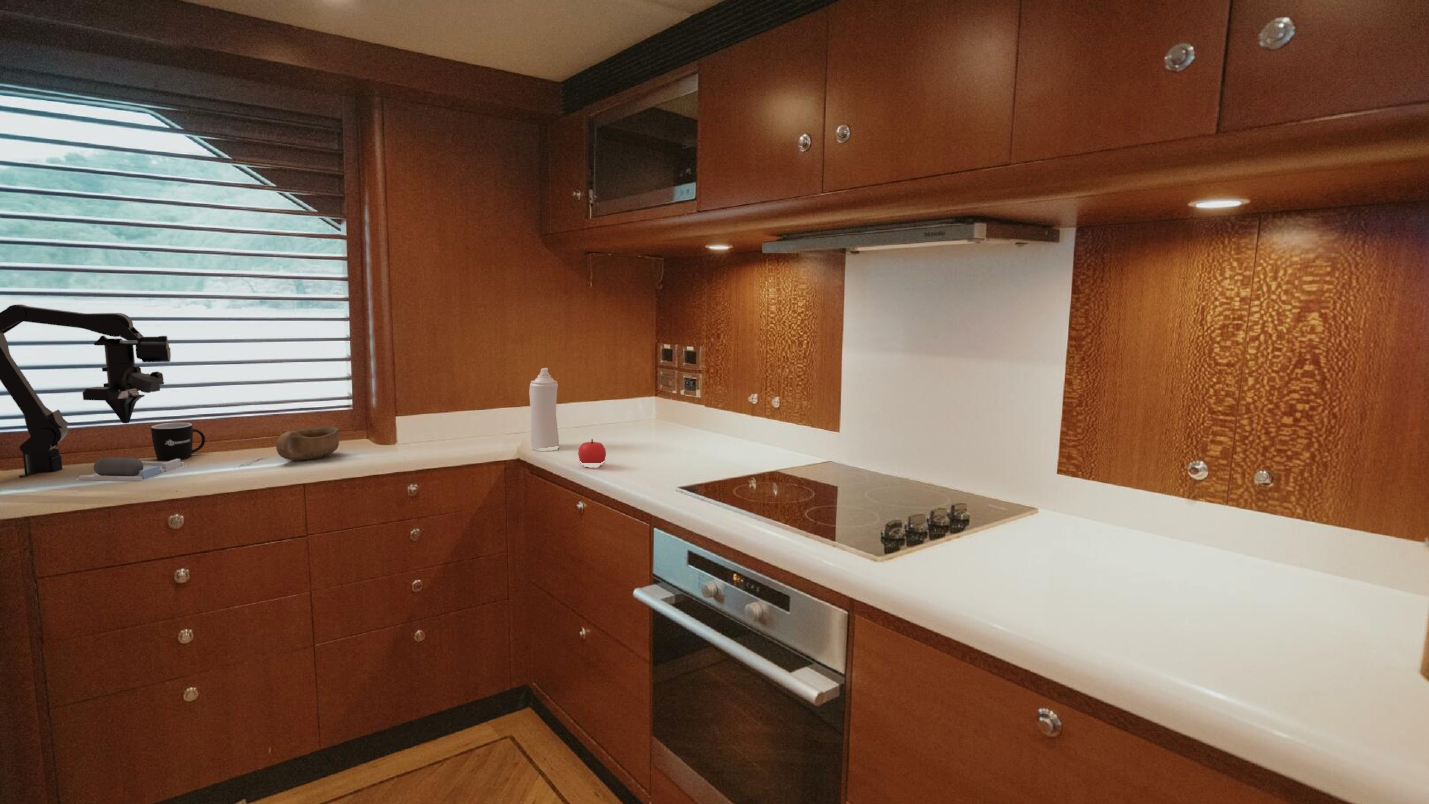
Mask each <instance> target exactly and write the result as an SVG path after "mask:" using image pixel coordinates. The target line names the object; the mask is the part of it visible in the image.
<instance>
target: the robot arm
mask: <svg viewBox="0 0 1429 804" xmlns="http://www.w3.org/2000/svg"><path fill="white" fill-rule="evenodd" d="M23 322H24V323H32V324H33V323H34V324H41V325H42V324H43V325H49V326H50V325H51V326H61V327H67V328H68V327H69V328H76V329H77V328H78V329H84V330H87V331H90V332H94V333H97V334H101V336H100V337H99V339H98V340H96V341H95V342H93V345H94V346H104V354H105V356H104V357H105V366H103V367H101V372H106V377H107V378H106V379H107V382H106V383H103V386H95V387H89V388H87V387H86V388H85V389H84V390H83V391H82V393H81V394H82V400H83V401H105V403H107V405H108V406H109V407H110V408H111V409H112V410H113V412H114V413H115V415H116V416H117V418H118V420H120V421H121V423H123V424H129V423H130V421H131V417H132V414H133V412H134V409H135V406H136V404H137V402H138V401H139V400H141V399H142V398H144V397H145V394H150V393H154V392H160V391H161V386H163V385H164V384H165V381H164V375H163V372H160V371H152V372H151V373H143V372H142V369H141V367H140V365H136V363H135V361H136V360H135V355H136V359H138V360H141V362H142V363H171V358H172V357H171V355H172V354H171V347H170V345H169V340H168V336H167V335H159V336H144V335H143V334H142V333H141V332H140V331H138V329H137V328H135V327H134V322H133V320H132V319H131V317H129V315H127V314H125V313H121V312H105V313H104V312H97V313H95V312H94V313H93V312H91V313H84V312H76V311H69V310H61V309H53V308H47V307H46V308H44V307H36V306H30V305H29V306H28V305H26V304H12V305H9V306H7V307H6V308H5V309H4V310H2V311H1V312H0V383H2V385H3V386H4V388H5V390H6V391H7V392H8V394H9V395H10V397H11V398H12V399H13V401H14V403H16V405H17V407H18V408H19V409H20V411H21V413H22V415H23V417H24V422H25V426H26V429H27V432H28V434H29V436H30V437H29V438H28V439H26V440H25V441H24V442H23V443H21V445H19V447H18V448H19V449H20V451H21V454H22V459H23V460H22V462H23V470H24V471H23V472H24V473H21V474H18V477H19V478H27V477H30V476H35V475H36V474H42V473H54V472H55V473H56V472H58V471H62V470H63V461H62V455H60V449H59V448H57V447H58V446H59V442H60V441H62V440H63V439H65V437H66V436H67V434H68V433H69V429H68V425H69V423H70V422H68V421H67V420H65V418H64V417H63V415H62V413H61V410H60V409H57V410H55V411H52V410H50V409H49V408H48V407H47V406H45V404H44V403H43V400H41V398H40V396H39V395H38V394H37V392H36V391H35V390H34V387H32V385H31V384H30V382H29V381H28V379H27V378H26V376H25V375H24V373H23V372H22V370H21V369H20V368H19V365H18V364H17V362H16V361H15V359H14V358H13V356H12V355H11V352H10V348H9V343H8V341H7V337H6V336H5V334H6V333H7V332H9V331H11V330H12V329H14V328H16V327H17V326H19V325H20V324H22V323H23ZM106 336H109V337H112V338H108V337H106ZM113 337H114V338H113ZM118 337H120V338H118ZM124 340H126V342H124ZM134 346H135V348H134ZM134 349H135V351H134ZM139 391H140V392H141V393H144V394H140V392H139Z"/></svg>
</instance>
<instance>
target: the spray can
mask: <svg viewBox="0 0 1429 804" xmlns="http://www.w3.org/2000/svg"><path fill="white" fill-rule="evenodd" d="M558 387H559V385H558V381H557V380H555V379H554V378H553V377H552V375H551V374H550V373H549V368H548V367H543V368H541V369H540V372H539V374H538V375H537V377H536V378H535V379H534V380H530V383H529V390H528V395H529V408H530V444H531V445H530V446H531V450H532V449H539V448H548V447H555V446H559V447H560V440H559V437H560V436H559V431H558V430H559V429H558V422H557V421H558V420H557V419H558V418H557V401H558V399H557V397H558Z"/></svg>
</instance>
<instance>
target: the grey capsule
mask: <svg viewBox="0 0 1429 804" xmlns="http://www.w3.org/2000/svg"><path fill="white" fill-rule="evenodd" d="M93 470H94V472H95V473H97V474H99V475H101V476H137V475H139V471H141V470H143V463H142V462H141V459H139V458H136V457H119V456H118V457H116V456H115V457H114V456H113V457H112V456H105V457H101V458H99V459H97V460H95V462H94V464H93Z"/></svg>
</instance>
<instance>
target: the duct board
mask: <svg viewBox="0 0 1429 804" xmlns="http://www.w3.org/2000/svg"><path fill="white" fill-rule="evenodd" d="M140 461H141V460H140ZM141 462H142V463H143V470H141V471H139V475H137V476H101V475H99V474H97V473H96V472H95V473H92V474H88V475H84V474H83V475H82V474H81V475H79V476H78V477H77V478H75V479H74V480H75V481H76V480H77V481H115V482H117V481H121V482H122V481H123V482H125V481H126V482H129V481H130V482H145V481H148V480H151V479H154V478H157V477H160V476H162V475H165V474H166V475H167V474H168V473H171V472H174V471H176V470H180V469H182V468H183V469H184V468H186V467H189V464H186V463H185V462H184V461H182V460H180V459H175V460H171V461H147V460H144V461H143V460H142V461H141Z"/></svg>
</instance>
